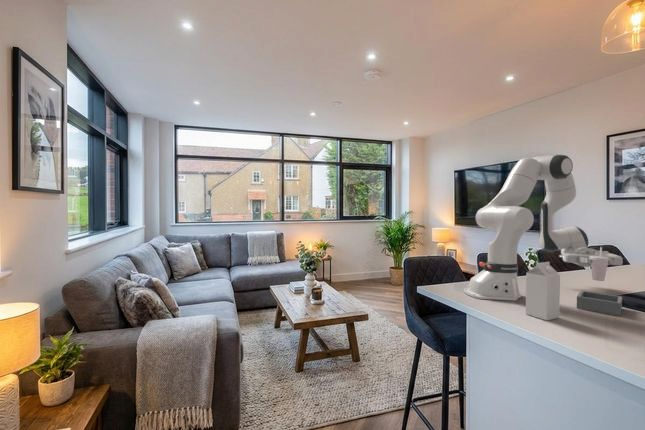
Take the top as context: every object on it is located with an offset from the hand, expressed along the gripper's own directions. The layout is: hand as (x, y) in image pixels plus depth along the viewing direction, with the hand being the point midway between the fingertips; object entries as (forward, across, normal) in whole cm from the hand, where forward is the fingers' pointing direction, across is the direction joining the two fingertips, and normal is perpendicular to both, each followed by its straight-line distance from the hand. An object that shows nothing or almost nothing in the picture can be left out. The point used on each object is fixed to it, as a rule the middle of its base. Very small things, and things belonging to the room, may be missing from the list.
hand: (600, 261), depth 128 cm
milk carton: (+32, -30, +16) cm, 47 cm away
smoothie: (-1, 0, +8) cm, 8 cm away
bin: (+15, -6, +16) cm, 23 cm away
